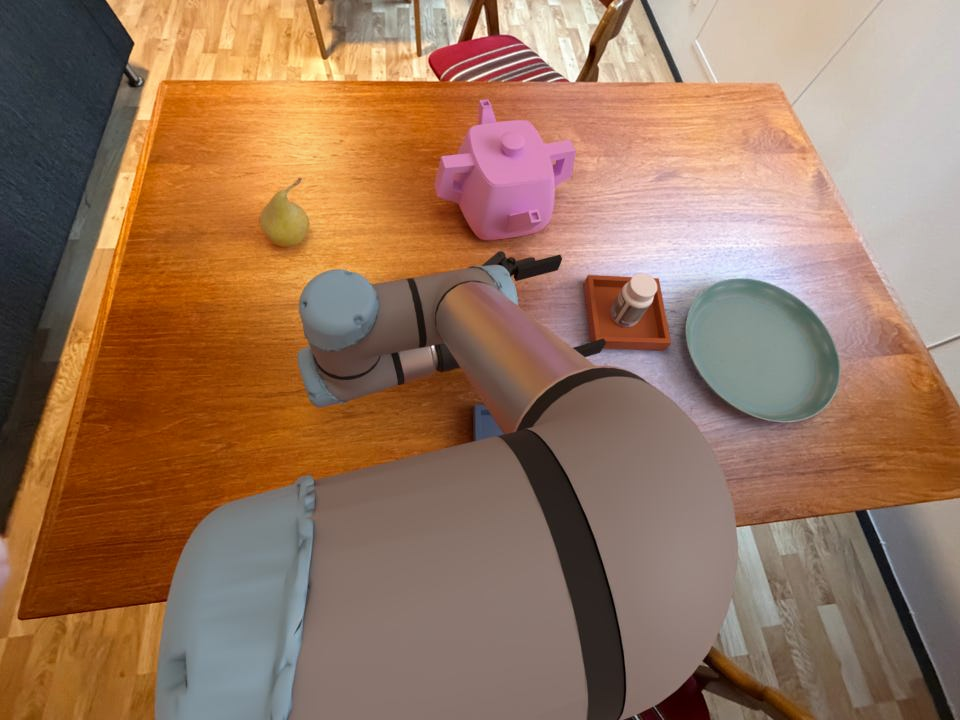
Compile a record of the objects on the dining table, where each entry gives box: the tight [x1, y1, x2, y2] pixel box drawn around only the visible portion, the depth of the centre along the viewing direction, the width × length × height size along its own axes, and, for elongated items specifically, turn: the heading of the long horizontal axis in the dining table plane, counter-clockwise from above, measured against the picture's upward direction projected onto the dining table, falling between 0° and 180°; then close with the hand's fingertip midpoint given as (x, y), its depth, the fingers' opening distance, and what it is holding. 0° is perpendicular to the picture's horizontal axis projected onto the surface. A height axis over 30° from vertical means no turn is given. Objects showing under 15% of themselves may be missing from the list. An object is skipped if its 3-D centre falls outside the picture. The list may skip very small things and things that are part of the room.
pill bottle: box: [610, 273, 657, 327], centre depth 82 cm, size 5×5×8 cm
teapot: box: [433, 99, 577, 241], centre depth 86 cm, size 19×18×15 cm
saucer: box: [685, 277, 841, 423], centre depth 84 cm, size 24×24×3 cm
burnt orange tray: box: [582, 274, 672, 352], centre depth 85 cm, size 12×12×3 cm
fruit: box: [259, 177, 310, 248], centre depth 80 cm, size 7×8×12 cm
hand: (580, 302), depth 73 cm, fingers open, 13 cm apart
